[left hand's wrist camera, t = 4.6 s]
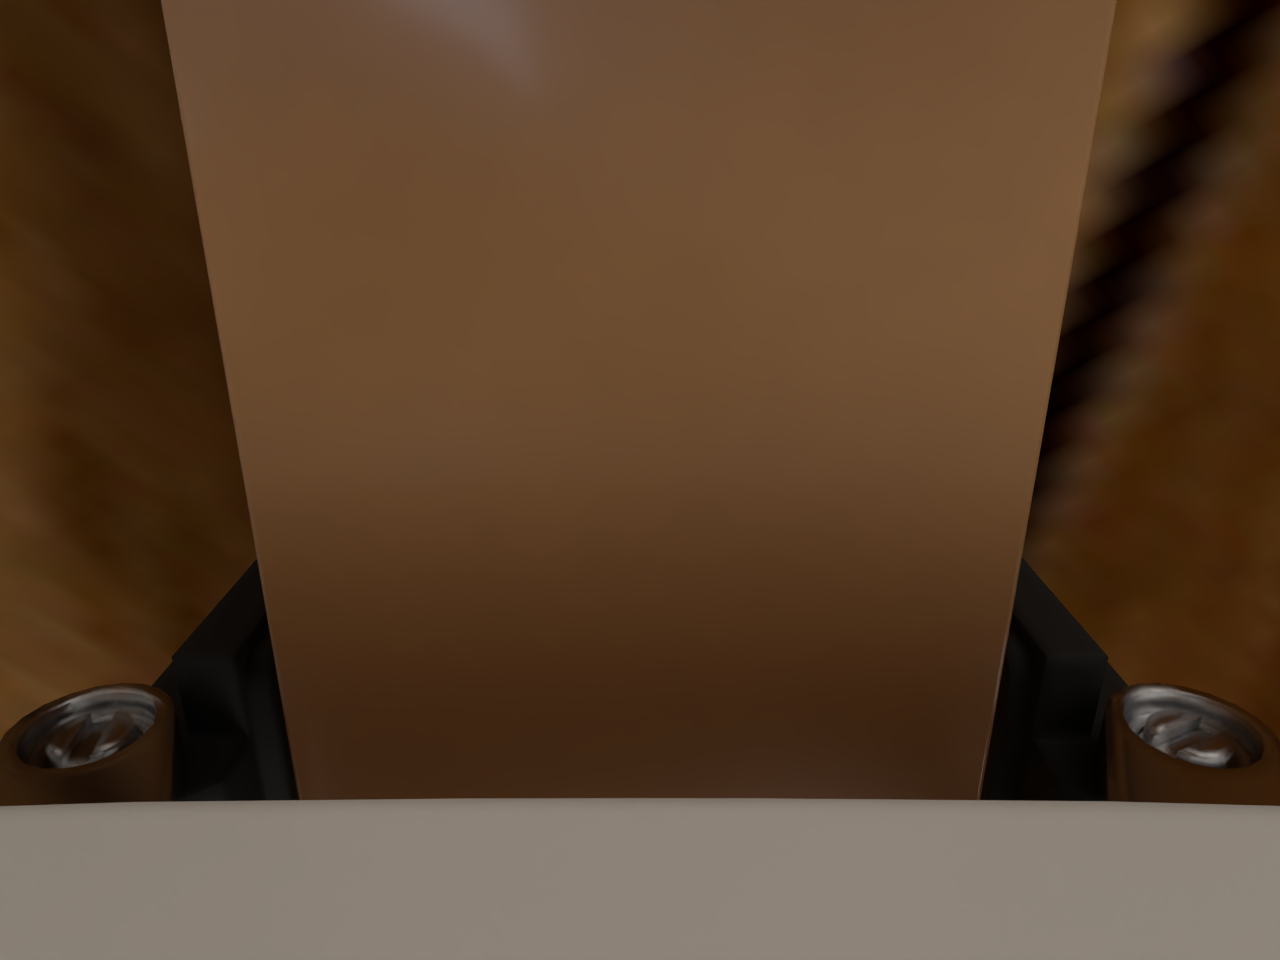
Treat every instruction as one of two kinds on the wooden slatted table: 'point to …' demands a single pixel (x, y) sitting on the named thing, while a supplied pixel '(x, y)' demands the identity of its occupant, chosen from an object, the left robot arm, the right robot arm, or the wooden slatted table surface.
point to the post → (639, 377)
